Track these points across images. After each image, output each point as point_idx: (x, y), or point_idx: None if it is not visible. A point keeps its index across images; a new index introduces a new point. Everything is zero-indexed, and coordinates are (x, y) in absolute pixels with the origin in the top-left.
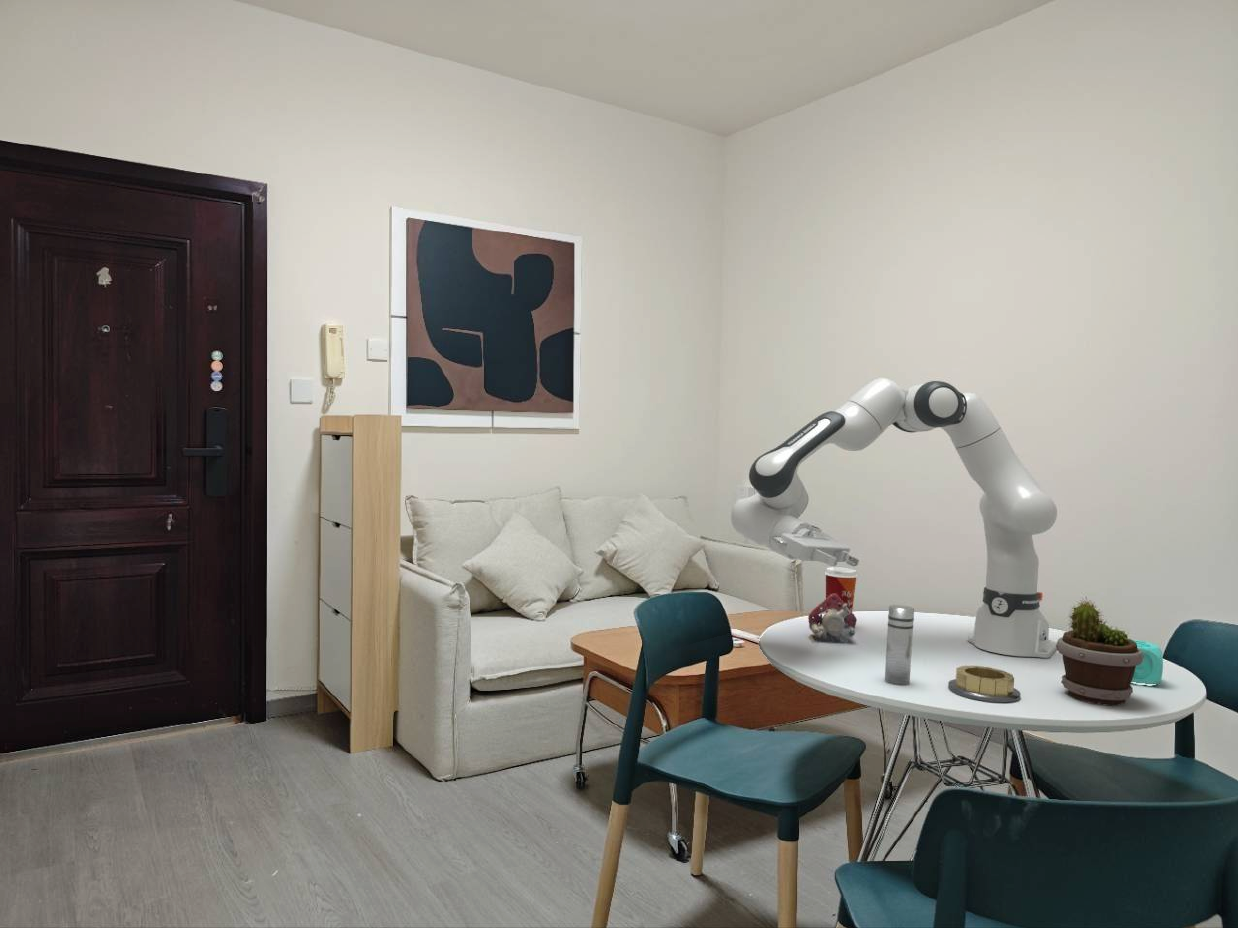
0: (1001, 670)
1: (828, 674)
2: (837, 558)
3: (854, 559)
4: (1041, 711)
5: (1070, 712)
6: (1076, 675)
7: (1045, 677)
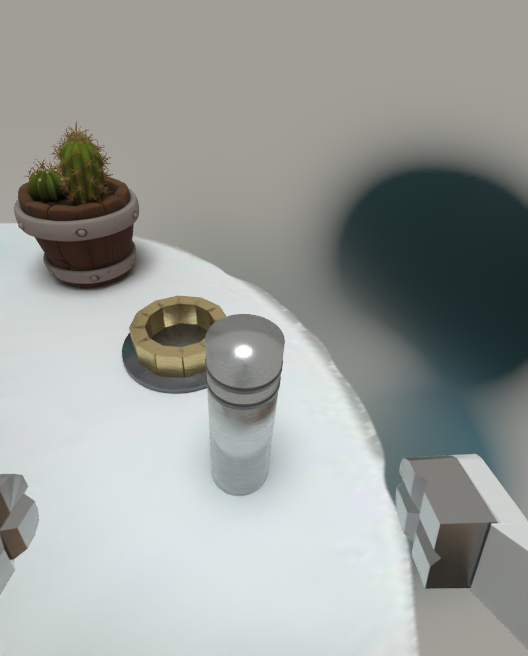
0: (138, 313)
1: (339, 640)
2: (407, 460)
3: (12, 487)
4: (220, 292)
5: (195, 276)
6: (123, 249)
7: (5, 316)
